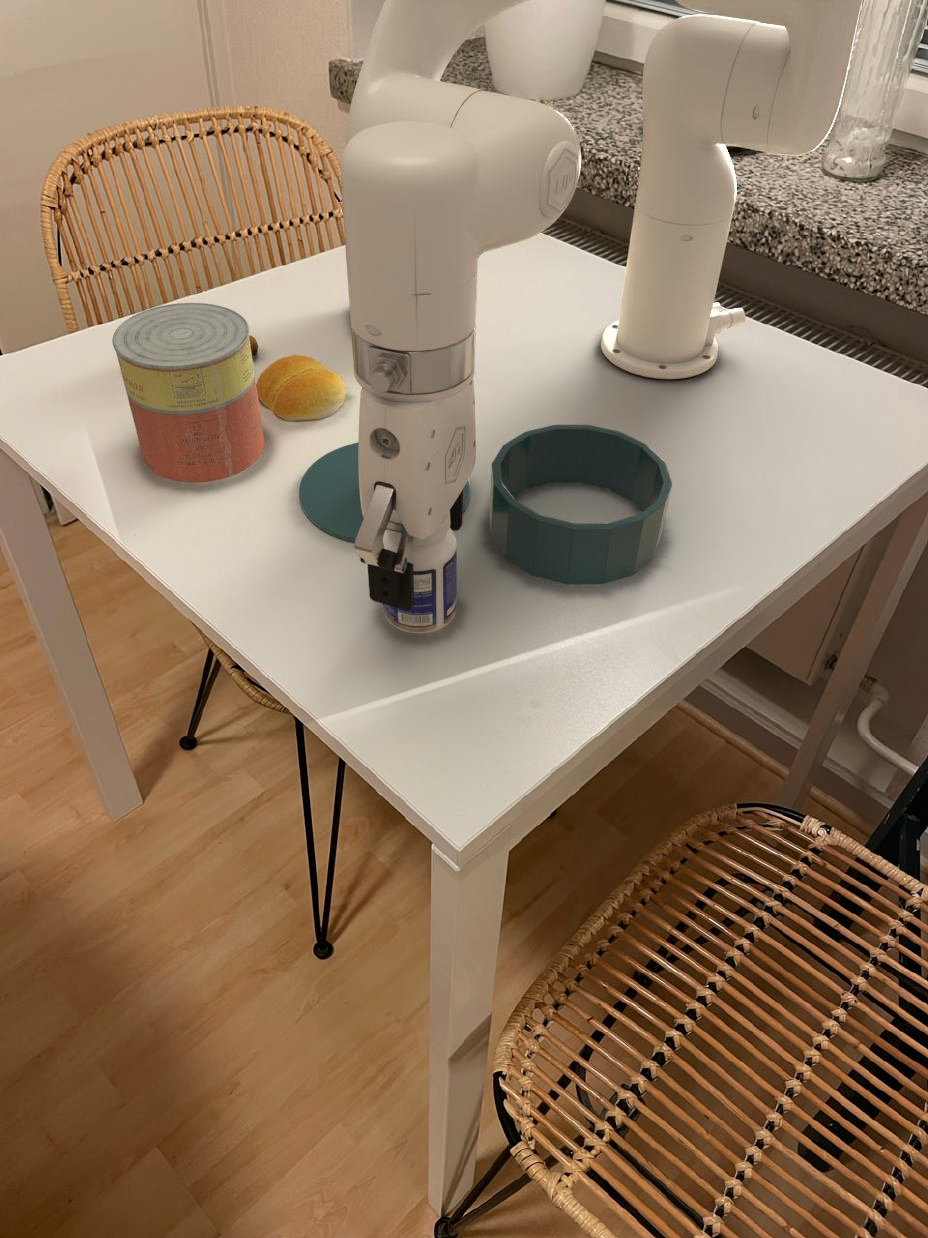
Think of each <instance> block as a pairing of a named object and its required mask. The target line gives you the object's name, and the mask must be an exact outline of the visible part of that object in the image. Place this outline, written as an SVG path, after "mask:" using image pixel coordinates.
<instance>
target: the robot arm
mask: <svg viewBox="0 0 928 1238" xmlns="http://www.w3.org/2000/svg"><path fill="white" fill-rule="evenodd" d="M529 1H530V0H385V1H384V3H383V5H382V7H381V9H380V12H379V13H378V16H377V19H376V21H375V24H374V27H373V30H372V33H371V36H370V38H369V42H368V45H367V49H366V52H365V54H364V58H363V61H362V64H361V67H360V71H359V74H358V77H357V81H356V84H355V86H354V90H353V94H352V97H351V101H350V106H349V112H348V117H347V122H346V135H345V147H344V148H343V152H342V154H341V162H340V188H341V190H340V191H341V201H342V202H341V204H342V218H343V231H344V233H343V234H344V245H345V246H344V249H345V260H346V261H345V263H346V272H347V273H346V274H347V275H346V276H347V288H348V289H347V290H348V301H349V317H350V332H351V347H352V361H353V375H354V379H355V380H356V383H358V385H360V387H361V388H360V389H361V390H360V398H359V411H358V412H359V414H358V442H357V443H358V464H359V490H360V501H361V508H362V514H363V517H364V519H363V521H362V524H361V527H360V529H359V532H358V534H357V537H356V540H355V543H354V546H353V547H354V550H355V551H356V553H357V554H358V556H359V560H360V562H361V563H363V564H366V565H367V577H368V580H367V581H368V595H369V598H370V600H371V601H373V602H375V603H378V604H382V605H383V604H386V605H389V606H393V607H396V608H400V609H404V610H411V608H412V607H413V605H414V571H413V564H411V563H410V562H408V560H409V555H410V551H411V547H412V542H413V538H414V537H418V538H419V539H425V538H427V537H429V536H430V535H432V534H433V533H434V532H435V531H436V530H437V528H438V527H439V525H440V524H441V523H442V521H443V520H444V518H445V516H446V515H447V513H448V512H449V510H450V528H451V529H452V531H453V532H455V531H456V532H457V531H460V530H461V527H462V526H463V519H464V518H463V516H464V515H463V514H464V512H463V488H464V486H465V485H466V483H467V481H468V480H469V481H470V478H471V477H472V474H473V472H474V470H475V467H476V466H475V465H476V460H477V459H476V458H477V442H476V441H477V439H476V437H477V435H476V432H477V431H476V397H475V395H476V393H475V381H474V377H475V371H476V370H475V368H476V364H475V362H476V335H477V333H476V332H477V331H476V330H477V329H476V328H477V297H478V267H479V266H478V265H479V264H478V262H479V258H480V257H481V255H483V254H484V253H487V252H490V251H493V250H496V249H497V250H498V249H501V248H503V247H507V246H510V245H514V244H518V243H520V242H524V241H527V240H529V239H532V238H534V237H535V236H537V235H539V234H541V233H543V232H544V231H546V230H547V229H548V228H550V227H551V226H552V225H553V224H554V223H556V221H557V220H558V219H559V218H560V217H561V216H562V214H563V213H564V212H565V211H566V209H567V208H568V206H569V204H570V203H571V201H572V199H573V198H574V195H575V193H576V190H577V187H578V183H579V180H580V175H581V169H582V149H581V144H580V139H579V137H578V134H577V132H576V130H575V128H574V126H573V125H572V124H571V122H570V121H569V119H567V117H566V116H564V115H563V113H561V112H559V111H558V110H557V109H555V108H553V107H551V106H549V105H547V104H544V103H542V102H539V101H536V100H531V99H528V98H523V97H517V96H513V95H508V94H503V93H497V92H492V91H489V90H486V89H481V88H476V87H471V86H466V85H462V84H457V83H452V82H448V81H442V80H441V79H442V77H443V75H444V72H445V70H446V68H447V66H448V65H449V64H450V62H451V60H452V58H453V57H454V55H455V54H456V52H458V50H459V48H460V47H461V46H462V45H463V43H465V42H466V40H467V39H468V38H469V37H470V36H471V35H472V34H473V33H474V32H475V31H477V30H478V29H479V28H480V27H482V26H483V25H485V24H486V23H487V22H488V21H490V20H492V19H493V18H495V17H497V16H499V15H500V14H501V13H504V12H505V11H507V10H510V9H512V8H514V7H515V6H516V7H517V6H518V5H521V4H524V3H526V2H529ZM674 1H675V2H676V3H677V4H679V5H680V6H682V7H684V8H686V9H689V10H693V11H696V12H700V13H705V14H693V15H684V16H681V17H678V18H676V19H674V20H671V21H669V22H668V23H666V24H665V25H664V26H663V27H661V28H660V29H659V30H658V32H657V33H656V34H655V36H654V37H653V39H652V40H651V42H650V44H649V47H648V48H647V51H646V55H645V59H644V62H643V63H644V64H643V71H642V80H641V81H642V82H641V83H642V85H641V98H642V99H641V100H642V102H641V104H642V140H641V141H642V142H641V143H642V145H641V155H640V165H639V173H638V183H637V190H636V196H635V204H634V209H633V217H632V224H631V231H630V239H629V246H628V253H627V259H626V266H625V267H626V268H625V274H624V279H623V280H624V281H623V286H622V287H623V288H622V295H621V301H620V307H619V308H620V310H619V315H618V320H616V321H614V322H612V323H611V324H609V325H608V326H607V327H605V330H603V333H602V335H601V341H600V348H601V351H602V354H603V355H604V357H606V359H607V360H609V362H610V363H612V364H613V365H614V366H616V367H618V368H620V369H622V370H623V371H626V372H628V373H630V374H633V375H635V376H636V375H637V376H641V377H645V378H650V379H659V380H661V379H662V380H678V379H686V378H687V379H688V378H691V377H694V376H698V375H700V374H703V373H704V372H706V371H708V370H710V369H711V368H712V367H714V365H715V363H716V362H717V358H718V353H719V344H718V342H717V340H716V338H715V335H718V334H720V333H721V332H722V330H725V329H732V328H736V327H740V326H743V325H744V324H745V323H746V313H745V310H744V309H743V308H742V307H737V308H736V307H735V308H732V309H727V310H725V311H722V306H721V304H720V302H715V299H716V294H717V289H718V284H719V280H720V274H721V270H722V267H723V262H724V256H725V251H726V248H727V247H726V246H727V242H728V237H729V233H730V228H731V223H732V219H733V214H734V210H735V205H736V200H737V178H736V173H735V168H734V165H733V162H732V159H731V156H730V154H729V152H728V149H727V147H726V146H734V147H739V148H744V149H750V150H752V151H759V152H763V153H770V154H776V155H782V156H790V157H791V156H793V157H795V156H803V155H806V154H809V153H812V152H813V151H815V150H816V149H818V147H819V146H821V145H822V143H824V141H825V140H826V139H827V137H828V135H829V133H831V132H830V131H831V130H832V128H833V125H834V123H835V120H836V118H837V115H838V113H839V109H840V106H841V102H842V98H843V94H844V90H845V86H846V81H847V76H848V71H849V66H850V63H851V57H852V51H853V47H854V43H855V42H854V41H855V37H856V33H857V28H858V23H859V18H860V13H861V10H862V9H861V8H862V4H863V0H674ZM393 510H395V511H397V513H398V515H399V517H400V519H401V521H402V523H399V522H395V521H392V520H390V517H391V515H392V512H393ZM386 529H387V530H391V531H395V532H399V533H401V537H400V541H399V546H398V550H397V553H395V552H393V551H390V550H387V549H384V544H383V536H384V533H385V530H386Z"/></svg>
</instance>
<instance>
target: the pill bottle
mask: <svg viewBox="0 0 928 1238" xmlns="http://www.w3.org/2000/svg"><path fill="white" fill-rule="evenodd" d="M390 520H392V521H395V522H399V523H402V521H401V519H400V517H399V515H398V513H397V511H395V510H393V512H392V515H391V517H390ZM400 537H401V533H399V532H395V531H391V530H387V529H386V530H385V533H384V536H383V544H384V549H387V550H390V551H393V552H395V553H397V550H398V546H399V541H400ZM457 543H458V542H457V537H456V535H455V533H454V531H453V530H452V529H451V528H450V510H449V512H448V513H447V515H446V516H445V518H444V520H443V521H442V523H441V524H440V525H439V527H438V528H437V530H436V531H435V532H434V533H433V534H432V535H430V536H429V537H427V538H425V539H419V538H418V537H414V538H413V542H412V547H411V551H410V555H409V560H408V562H410V563H411V564H413V571H414V605H413V607H412V608H411V610H404V609H400V608H396V607H393V606H389V605H386V604H382V612H383V615H384V617H385V620H387V622H388V623H389V624H390V625H392V626H393V627H394V628H396V629H398V630H399V631H402V632H407V633H411V634H429V633H433V632H436V631H438V630H441V629H443V628H444V627H446V626H447V625H449V624H450V623H451V622H452V621H453V619H454V618H455V615H456V612H457V605H458V604H457V601H458V593H457V592H458V591H457V589H458V583H457V582H458V578H457V575H458V574H457V573H458V571H457V568H458V566H457V565H458V563H457V562H458V561H457V560H458V559H457V558H458V556H457V555H458V553H457V552H458V550H457V549H458V545H457Z"/></svg>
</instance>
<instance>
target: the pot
mask: <svg viewBox="0 0 928 1238" xmlns="http://www.w3.org/2000/svg"><path fill="white" fill-rule="evenodd" d="M552 483H581V484H585V485H590V486H593V487H594V486H595V487H599V488H602V489H606V490H607V489H608V490H609V491H611V492H613V493H615V494H617V495H619V496H620V497H623V498H624V499H627V500H628V501H630V502H632V504H633V505H634V506H635V507H636V508H637V509H638V510H639V511H640V513H639V514H636V515H633V516H629V517H626V518H623V519H619V520H615V521H611V522H607V523H573V522H569V521H565V520H561V519H558V518H554V517H550V516H544V515H542V514H540V513H538V512H536V511H534V510H533V509H531V508H529V507H527V506H526V505H524V504H522V503H521V502H519V501H517V500H516V499H515V497H516V496H518V495H520V494H521V493H523V492H524V491H526V490H528V489H532V488H536V487H539V486H543V485H548V484H552ZM672 487H673V482H672V478H671V475H670V473H669V469H668V466H667V463H666V461H665V460H663V459H662V458H661V457H660V456H659V454H657V452H655V451H654V450H653V449H652V448H651V447H650V446H649V445H648V444H646V443H644V442H642V441H640V440H638V439H636V438H634V437H631V436H630V435H628V434H626V433H623V432H622V431H619V430H615V429H611V428H604V427H600V426H596V425H591V424H551V425H547V426H543V427H539V428H535V429H530V430H527V431H524V432H522V433H521V434H519V435H517V436H516V437H514V438H512V439H511V440H509V441H508V442H506V443H504V444H503V445H502V446H501V448H500V449H499V451H498V453H497V454H496V456H495V458H494V459H493V461H492V462H491V472H490V488H489V489H490V492H489V512H488V522H489V532H490V539H491V541H492V543H493V544H494V545H495V547H496V548H497V549H498V551H499V552H500V554H501V555H502V556H503V558H504V559H505V560H506V561H508V562H510V563H511V564H512V565H514V566H516V567H518V568H519V569H521V570H523V571H524V572H526V573H527V574H529V575H531V576H533V577H536V578H541V579H545V580H548V581H551V582H556V583H560V584H563V585H604V584H605V585H606V584H609V583H612V582H615V581H618V580H622V579H625V578H628V577H631V576H633V575H635V574H637V573H638V572H639V571H640V570H641V569H642V568H644V567H645V566H646V565H647V564H649V563H650V562H651V561H652V560H654V558H655V555H656V554H657V550H658V547H659V545H660V542H661V539H662V534H663V530H664V525H665V521H666V517H667V511H668V506H669V502H670V498H671V497H670V496H671V492H672Z"/></svg>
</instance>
